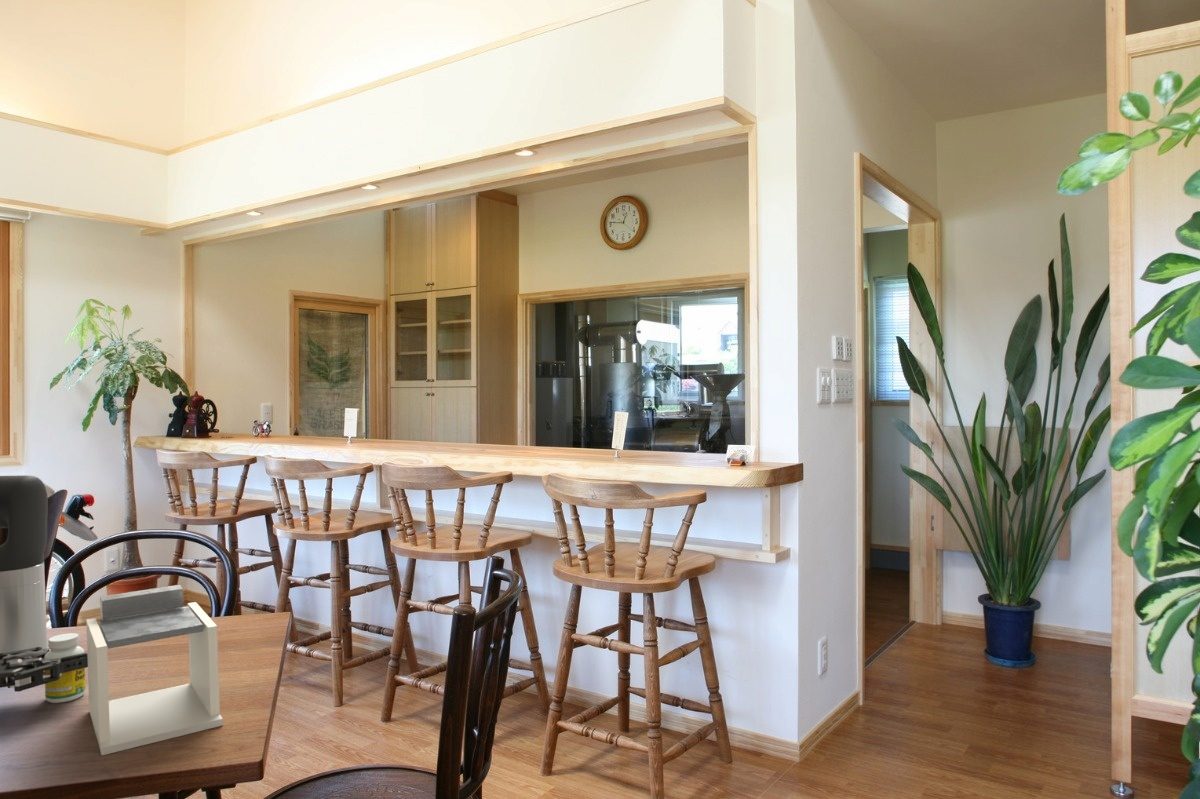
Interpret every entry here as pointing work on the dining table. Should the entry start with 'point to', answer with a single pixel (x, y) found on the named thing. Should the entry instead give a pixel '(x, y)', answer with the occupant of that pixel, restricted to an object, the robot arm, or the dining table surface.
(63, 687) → the supplement bottle
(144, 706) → the trapdoor stand
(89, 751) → the dining table surface
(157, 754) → the dining table surface
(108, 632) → the trapdoor
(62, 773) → the dining table surface
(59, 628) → the dining table surface
